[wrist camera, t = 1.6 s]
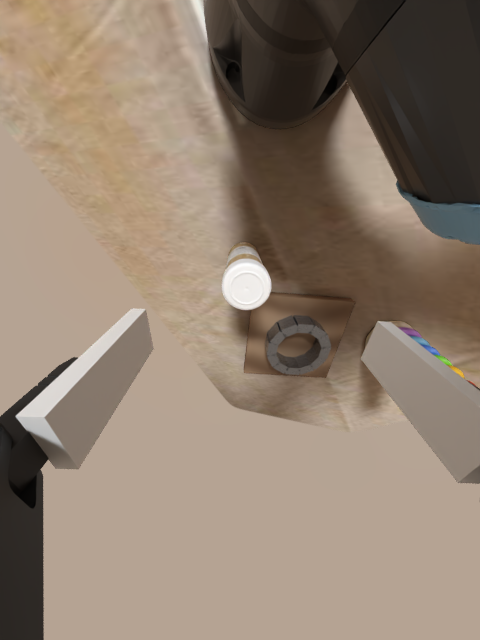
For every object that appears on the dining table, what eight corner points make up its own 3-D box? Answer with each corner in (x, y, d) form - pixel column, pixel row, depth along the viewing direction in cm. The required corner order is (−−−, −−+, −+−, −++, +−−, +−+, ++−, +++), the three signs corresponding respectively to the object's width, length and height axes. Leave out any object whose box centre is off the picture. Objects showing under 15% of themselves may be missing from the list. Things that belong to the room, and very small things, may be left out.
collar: (270, 313, 32) (272, 322, 30) (330, 317, 33) (338, 327, 30) (261, 361, 37) (263, 372, 35) (314, 364, 38) (320, 376, 35)
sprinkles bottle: (231, 275, 31) (227, 315, 19) (225, 244, 29) (215, 268, 17) (261, 269, 31) (275, 307, 19) (256, 238, 28) (269, 258, 17)
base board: (253, 290, 32) (253, 294, 31) (350, 298, 33) (355, 302, 32) (243, 367, 40) (244, 372, 39) (323, 372, 41) (325, 377, 39)
